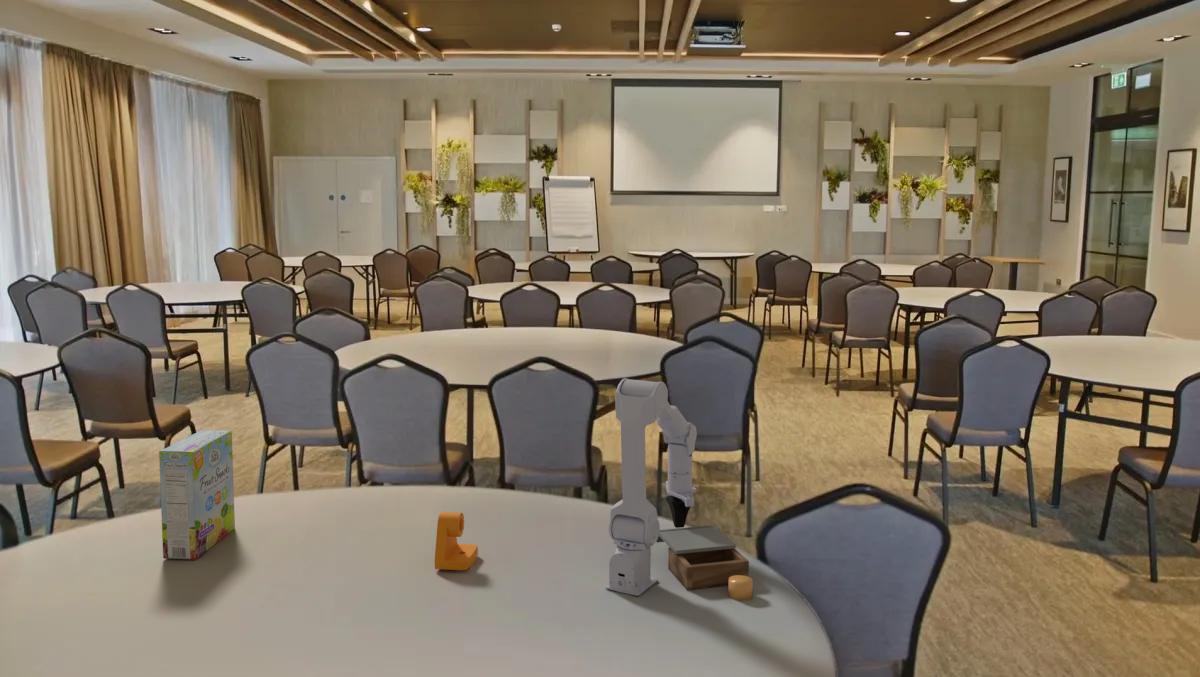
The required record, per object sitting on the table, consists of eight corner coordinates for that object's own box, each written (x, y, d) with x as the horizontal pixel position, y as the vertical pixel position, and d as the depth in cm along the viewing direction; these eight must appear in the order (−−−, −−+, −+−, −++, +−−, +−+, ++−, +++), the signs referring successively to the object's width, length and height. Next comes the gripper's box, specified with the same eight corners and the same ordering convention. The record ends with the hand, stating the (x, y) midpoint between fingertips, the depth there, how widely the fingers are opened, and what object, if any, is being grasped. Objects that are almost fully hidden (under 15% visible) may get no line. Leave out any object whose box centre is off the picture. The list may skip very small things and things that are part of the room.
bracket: (466, 574, 202) (465, 521, 200) (434, 572, 203) (433, 520, 201) (478, 555, 213) (477, 506, 211) (448, 554, 213) (447, 504, 212)
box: (748, 583, 197) (748, 561, 196) (687, 590, 193) (687, 567, 193) (726, 562, 208) (726, 541, 208) (668, 568, 205) (668, 547, 204)
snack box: (199, 561, 209) (192, 451, 206) (161, 560, 209) (154, 451, 206) (238, 528, 231) (233, 428, 227) (204, 528, 231) (198, 428, 227)
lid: (736, 555, 203) (737, 544, 203) (674, 562, 199) (674, 550, 199) (714, 535, 216) (714, 524, 215) (655, 541, 212) (655, 530, 212)
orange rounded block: (747, 602, 187) (747, 586, 187) (724, 597, 190) (724, 581, 189) (755, 594, 192) (756, 578, 191) (733, 589, 194) (733, 573, 194)
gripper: (707, 478, 210) (706, 535, 212) (685, 461, 224) (684, 515, 226) (678, 480, 208) (677, 538, 210) (657, 464, 222) (657, 517, 224)
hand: (679, 526), depth 218 cm, fingers closed
